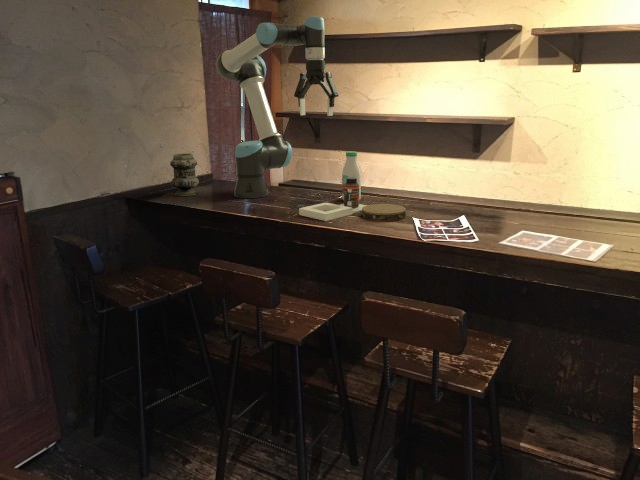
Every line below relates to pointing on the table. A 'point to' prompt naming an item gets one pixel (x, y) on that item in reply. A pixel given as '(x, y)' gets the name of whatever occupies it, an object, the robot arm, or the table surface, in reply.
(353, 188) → the supplement bottle
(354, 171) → the milk bottle
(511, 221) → the table surface
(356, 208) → the tile
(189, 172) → the apothecary jar
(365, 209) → the tambourine
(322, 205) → the collar
